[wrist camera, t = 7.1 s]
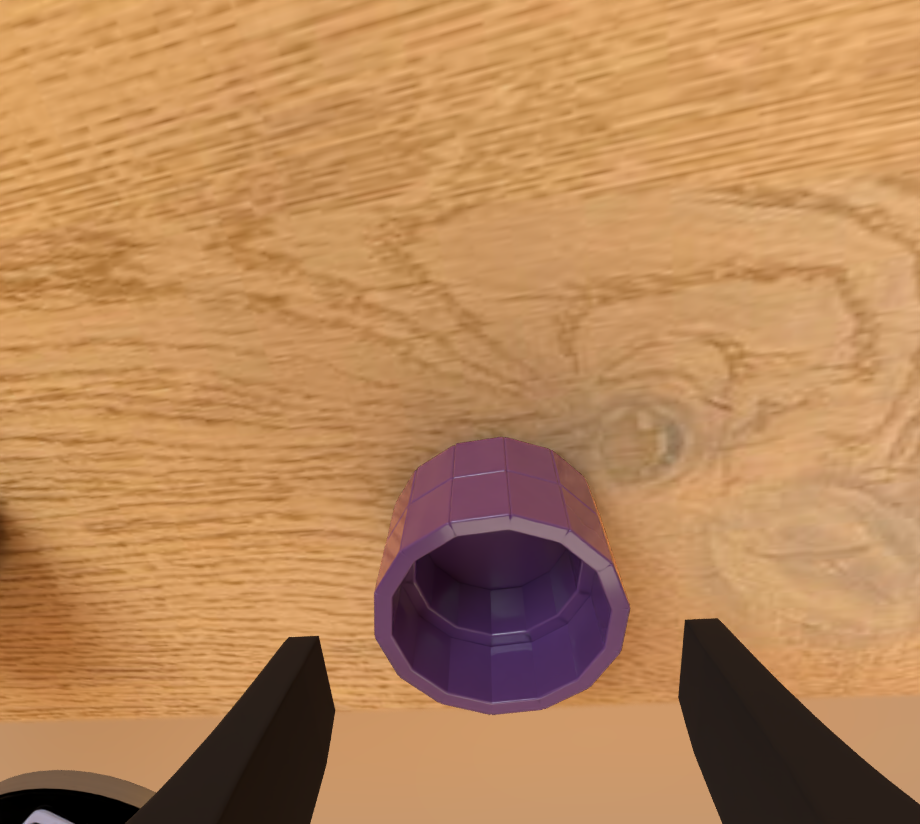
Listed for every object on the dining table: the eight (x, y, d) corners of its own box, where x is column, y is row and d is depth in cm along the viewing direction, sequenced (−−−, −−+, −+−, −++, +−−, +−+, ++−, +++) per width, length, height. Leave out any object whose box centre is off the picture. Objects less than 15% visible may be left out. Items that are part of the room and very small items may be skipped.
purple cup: (501, 627, 18) (507, 749, 14) (355, 522, 17) (321, 627, 13) (637, 514, 16) (683, 619, 13) (487, 387, 15) (490, 464, 11)
